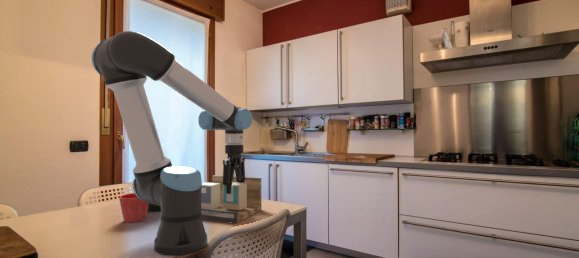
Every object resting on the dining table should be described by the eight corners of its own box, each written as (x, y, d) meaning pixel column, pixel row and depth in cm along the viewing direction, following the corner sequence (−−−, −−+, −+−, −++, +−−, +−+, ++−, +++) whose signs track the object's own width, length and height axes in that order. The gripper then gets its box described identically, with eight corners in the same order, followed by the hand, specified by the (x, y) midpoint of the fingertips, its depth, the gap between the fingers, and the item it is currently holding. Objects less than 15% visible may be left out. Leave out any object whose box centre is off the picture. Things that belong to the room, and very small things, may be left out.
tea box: (222, 208, 124) (222, 184, 124) (230, 205, 129) (230, 182, 130) (239, 210, 121) (239, 185, 121) (246, 206, 126) (246, 183, 127)
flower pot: (112, 221, 116) (113, 196, 116) (138, 214, 126) (138, 191, 126) (130, 225, 111) (130, 199, 111) (155, 218, 121) (155, 193, 121)
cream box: (211, 209, 125) (211, 185, 125) (195, 208, 128) (195, 184, 128) (220, 206, 131) (220, 183, 131) (205, 204, 134) (205, 182, 134)
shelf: (236, 223, 113) (235, 186, 113) (182, 216, 122) (182, 182, 122) (261, 209, 133) (261, 178, 133) (213, 204, 142) (213, 175, 142)
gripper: (229, 145, 115) (229, 205, 115) (253, 143, 133) (253, 195, 133) (212, 145, 118) (213, 204, 118) (238, 143, 136) (238, 194, 135)
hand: (234, 199), depth 125 cm, fingers closed on tea box, 6 cm apart
